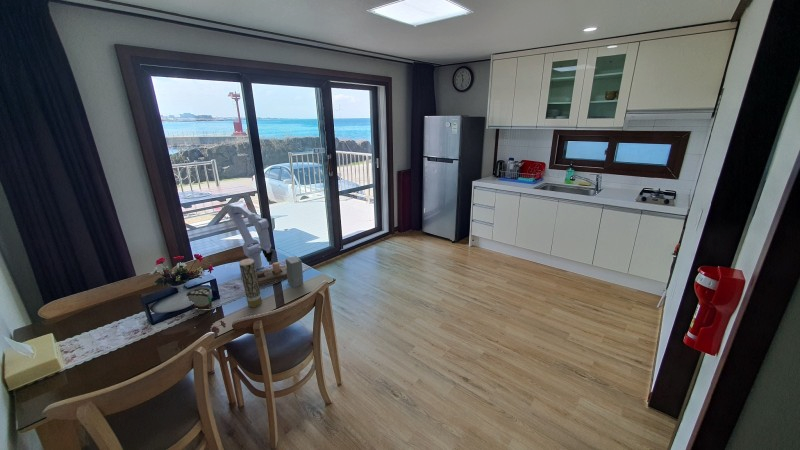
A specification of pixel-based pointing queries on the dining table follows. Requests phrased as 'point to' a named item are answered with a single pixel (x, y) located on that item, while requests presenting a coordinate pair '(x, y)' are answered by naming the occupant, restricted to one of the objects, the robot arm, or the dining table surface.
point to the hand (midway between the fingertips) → (268, 259)
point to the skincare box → (294, 271)
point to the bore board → (271, 275)
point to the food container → (200, 298)
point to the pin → (276, 268)
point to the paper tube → (250, 282)
